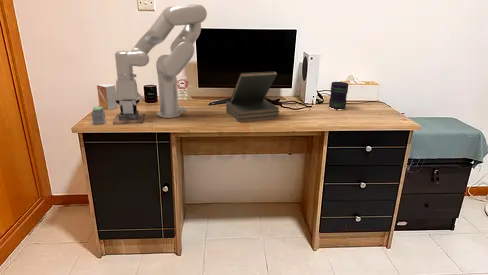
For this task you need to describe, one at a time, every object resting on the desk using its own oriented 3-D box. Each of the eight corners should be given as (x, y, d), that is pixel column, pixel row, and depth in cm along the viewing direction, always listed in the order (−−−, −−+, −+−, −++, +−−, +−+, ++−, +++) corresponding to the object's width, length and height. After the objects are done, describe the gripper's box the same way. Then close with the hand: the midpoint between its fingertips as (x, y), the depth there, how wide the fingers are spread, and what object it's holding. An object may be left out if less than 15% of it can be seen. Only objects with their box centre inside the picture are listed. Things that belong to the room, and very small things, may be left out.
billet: (134, 113, 178) (133, 98, 176) (133, 116, 174) (132, 100, 171) (124, 113, 178) (123, 98, 175) (123, 116, 173) (121, 101, 170)
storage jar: (347, 110, 201) (350, 85, 196) (330, 110, 201) (333, 84, 196) (343, 106, 211) (346, 81, 205) (327, 105, 211) (329, 81, 205)
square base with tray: (144, 115, 184) (144, 108, 183) (142, 123, 172) (142, 116, 170) (117, 115, 182) (116, 109, 180) (113, 124, 169) (112, 117, 168)
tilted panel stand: (263, 109, 201) (265, 66, 192) (278, 119, 184) (281, 72, 175) (226, 112, 193) (226, 67, 184) (238, 123, 176) (239, 74, 167)
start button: (104, 119, 173) (103, 106, 171) (103, 122, 169) (101, 108, 167) (95, 119, 173) (93, 106, 170) (93, 122, 169) (91, 108, 166)
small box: (99, 107, 196) (96, 84, 191) (109, 105, 201) (106, 83, 196) (108, 110, 191) (105, 86, 187) (118, 107, 196) (115, 85, 192)
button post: (105, 120, 174) (104, 109, 172) (103, 123, 169) (102, 112, 167) (95, 121, 173) (93, 109, 171) (93, 124, 169) (91, 112, 166)
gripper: (144, 75, 174) (146, 109, 180) (108, 75, 171) (112, 111, 177) (142, 78, 167) (145, 114, 173) (105, 78, 164) (110, 115, 170)
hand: (128, 112), depth 175 cm, fingers closed on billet, 5 cm apart
